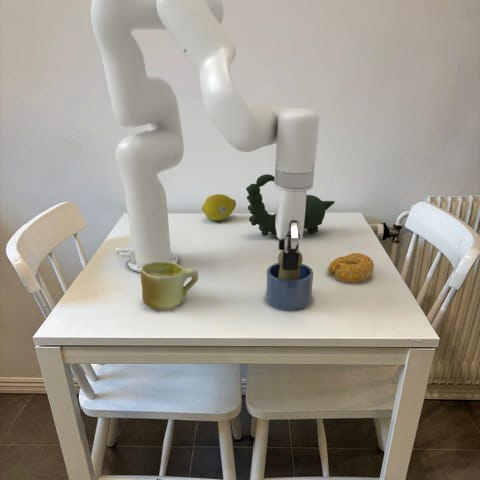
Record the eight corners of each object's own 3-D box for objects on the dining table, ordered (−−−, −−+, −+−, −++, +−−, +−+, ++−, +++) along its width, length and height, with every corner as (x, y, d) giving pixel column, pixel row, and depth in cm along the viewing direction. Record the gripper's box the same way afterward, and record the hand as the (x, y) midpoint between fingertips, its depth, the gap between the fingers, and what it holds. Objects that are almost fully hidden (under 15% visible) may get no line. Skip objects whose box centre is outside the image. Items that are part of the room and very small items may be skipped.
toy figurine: (255, 249, 135) (340, 235, 138) (249, 182, 125) (341, 168, 128) (248, 236, 143) (329, 223, 146) (242, 173, 133) (329, 160, 136)
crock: (267, 311, 103) (268, 281, 99) (265, 289, 111) (266, 261, 108) (313, 310, 103) (316, 281, 99) (307, 289, 111) (309, 261, 108)
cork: (300, 305, 104) (303, 258, 98) (272, 302, 105) (274, 256, 99) (303, 292, 109) (306, 246, 103) (276, 289, 110) (278, 244, 104)
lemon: (203, 225, 147) (202, 199, 143) (201, 216, 154) (199, 191, 150) (238, 223, 149) (238, 197, 145) (234, 214, 155) (234, 190, 151)
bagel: (334, 263, 123) (336, 245, 121) (377, 271, 119) (380, 253, 116) (321, 278, 116) (322, 260, 113) (366, 288, 111) (369, 269, 109)
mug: (132, 308, 100) (138, 261, 98) (140, 299, 110) (147, 256, 108) (190, 318, 101) (198, 272, 99) (193, 308, 111) (200, 266, 109)
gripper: (271, 166, 100) (267, 242, 109) (277, 192, 86) (272, 277, 95) (307, 166, 100) (300, 243, 110) (319, 192, 86) (310, 278, 95)
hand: (287, 259), depth 102 cm, fingers open, 9 cm apart
